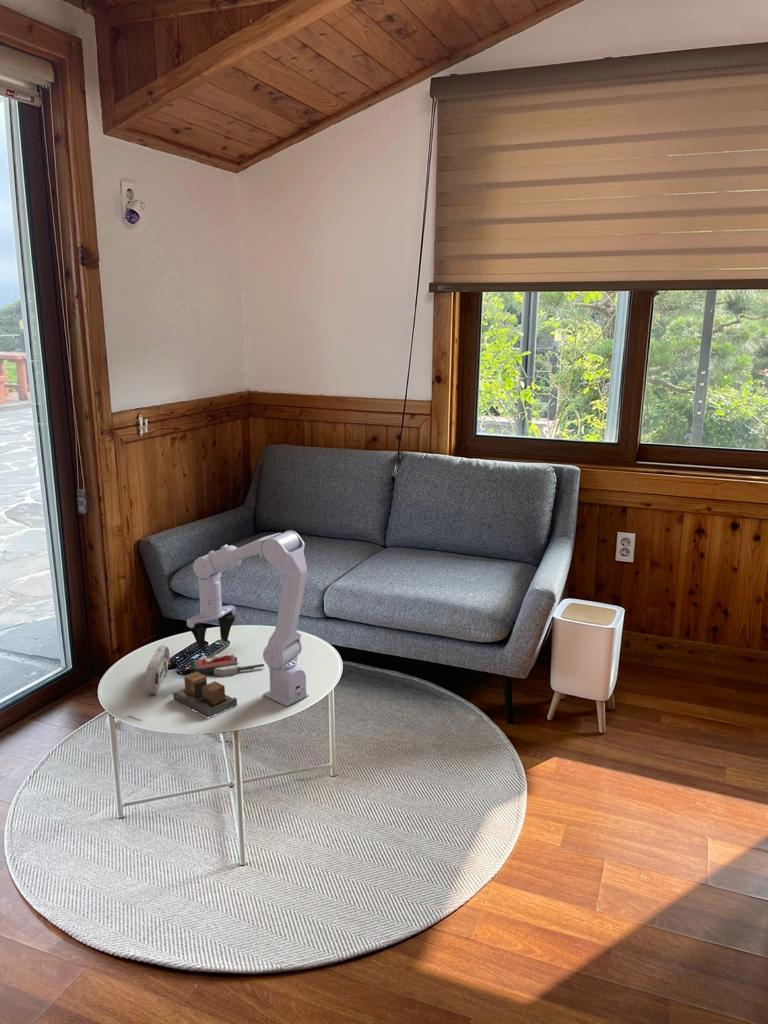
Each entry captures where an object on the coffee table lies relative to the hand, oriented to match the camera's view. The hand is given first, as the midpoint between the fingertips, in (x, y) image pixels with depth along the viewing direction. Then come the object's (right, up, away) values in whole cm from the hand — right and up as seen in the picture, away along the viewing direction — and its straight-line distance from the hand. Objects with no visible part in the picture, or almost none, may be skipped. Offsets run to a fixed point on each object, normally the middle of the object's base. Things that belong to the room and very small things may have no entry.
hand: (213, 644), depth 211 cm
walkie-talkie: (+2, -9, +8) cm, 12 cm away
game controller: (-15, -11, 0) cm, 18 cm away
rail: (+1, -13, -12) cm, 18 cm away
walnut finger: (-2, -12, -9) cm, 16 cm away
